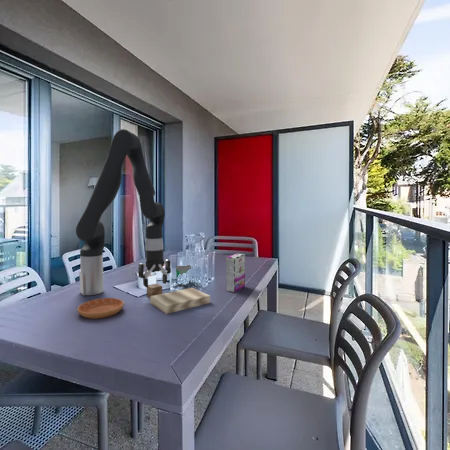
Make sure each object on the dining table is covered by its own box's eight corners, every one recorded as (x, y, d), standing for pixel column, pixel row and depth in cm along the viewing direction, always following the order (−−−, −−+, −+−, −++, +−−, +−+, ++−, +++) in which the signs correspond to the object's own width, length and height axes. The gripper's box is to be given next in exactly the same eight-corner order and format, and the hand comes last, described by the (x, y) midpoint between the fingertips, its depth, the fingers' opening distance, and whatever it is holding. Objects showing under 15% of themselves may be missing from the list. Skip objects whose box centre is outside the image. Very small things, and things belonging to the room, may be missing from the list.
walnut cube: (151, 299, 123) (151, 288, 122) (146, 296, 127) (146, 285, 126) (162, 297, 126) (162, 286, 125) (157, 294, 130) (157, 283, 129)
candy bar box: (236, 285, 145) (236, 253, 144) (245, 286, 143) (245, 254, 141) (225, 291, 136) (225, 256, 134) (234, 292, 133) (235, 257, 132)
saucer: (77, 324, 97) (77, 315, 97) (77, 308, 112) (77, 301, 111) (127, 316, 105) (126, 308, 105) (120, 302, 119) (120, 295, 119)
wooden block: (166, 313, 107) (166, 306, 107) (150, 303, 118) (150, 296, 117) (210, 302, 119) (210, 295, 119) (192, 294, 130) (192, 287, 130)
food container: (187, 287, 141) (187, 267, 140) (175, 286, 142) (175, 266, 142) (195, 280, 153) (195, 262, 152) (184, 279, 154) (184, 261, 154)
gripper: (165, 245, 132) (166, 280, 133) (135, 249, 123) (136, 286, 124) (173, 247, 126) (174, 283, 127) (142, 251, 117) (143, 290, 119)
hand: (155, 285), depth 126 cm, fingers open, 8 cm apart
